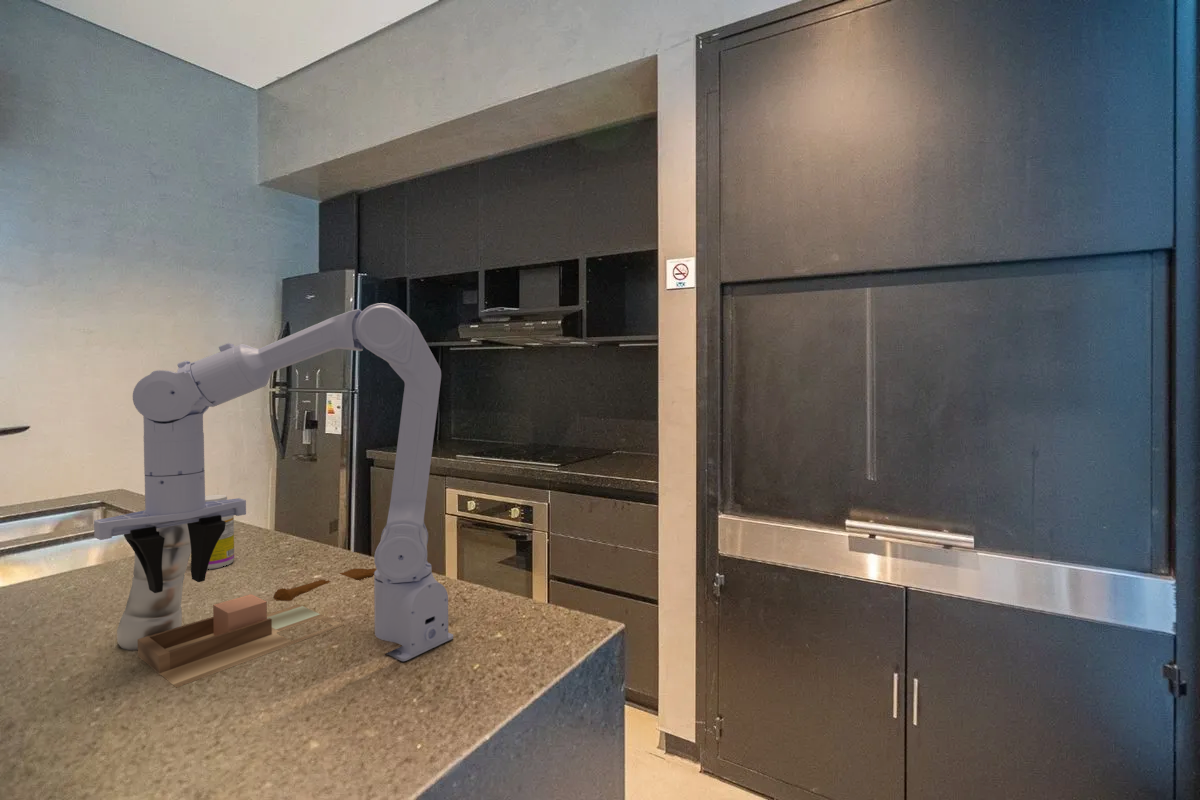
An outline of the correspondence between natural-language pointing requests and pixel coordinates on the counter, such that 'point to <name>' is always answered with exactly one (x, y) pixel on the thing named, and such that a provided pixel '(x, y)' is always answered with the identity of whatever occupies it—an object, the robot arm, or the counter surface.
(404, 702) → the counter surface
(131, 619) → the plastic bottle
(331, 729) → the counter surface
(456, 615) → the counter surface
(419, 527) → the robot arm
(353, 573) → the primitive tool
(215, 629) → the block
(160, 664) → the board
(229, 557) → the supplement bottle
